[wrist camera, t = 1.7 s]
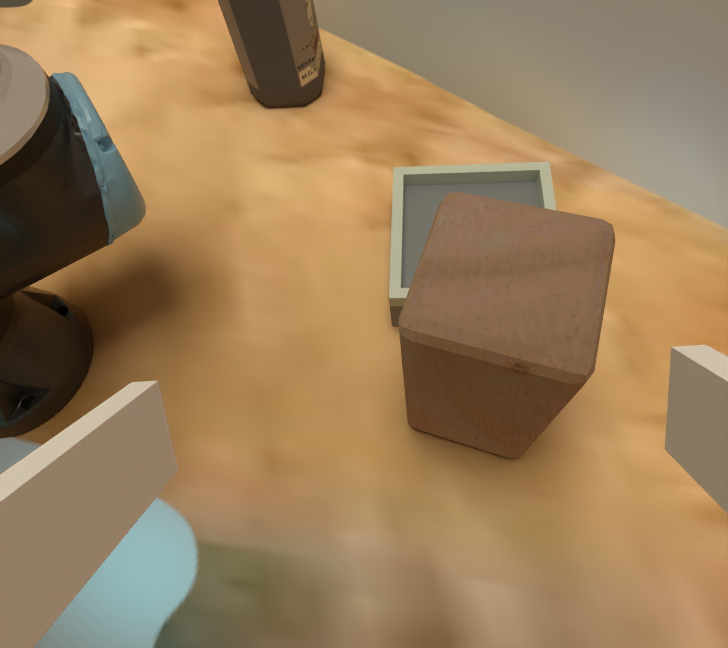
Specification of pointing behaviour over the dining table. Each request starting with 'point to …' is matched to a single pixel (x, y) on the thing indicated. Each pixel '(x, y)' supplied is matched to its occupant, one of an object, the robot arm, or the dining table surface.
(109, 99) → the dining table surface
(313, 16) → the liquor
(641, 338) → the dining table surface
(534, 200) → the square tray
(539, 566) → the dining table surface
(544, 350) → the wooden block
